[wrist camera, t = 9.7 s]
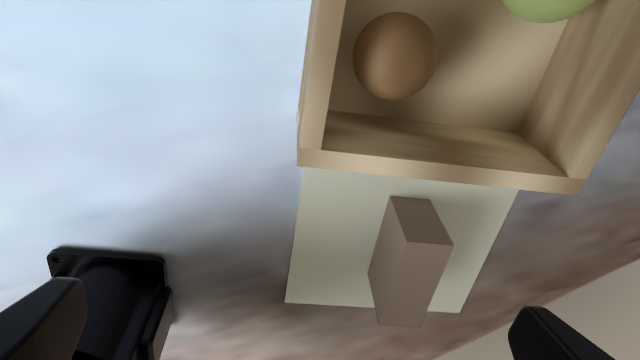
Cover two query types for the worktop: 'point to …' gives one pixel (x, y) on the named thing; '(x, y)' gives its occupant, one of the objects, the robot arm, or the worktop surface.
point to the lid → (391, 242)
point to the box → (473, 95)
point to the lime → (546, 9)
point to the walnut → (395, 55)
